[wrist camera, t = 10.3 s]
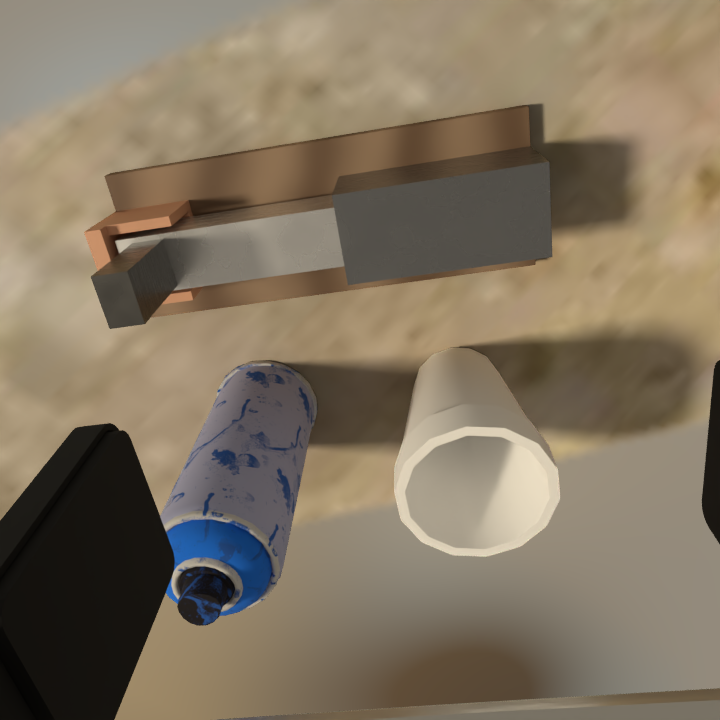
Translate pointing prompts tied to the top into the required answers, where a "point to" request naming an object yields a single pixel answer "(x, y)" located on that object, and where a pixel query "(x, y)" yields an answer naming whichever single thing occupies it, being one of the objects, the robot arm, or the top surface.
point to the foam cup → (471, 460)
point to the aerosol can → (239, 492)
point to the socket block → (132, 221)
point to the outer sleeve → (444, 215)
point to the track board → (311, 189)
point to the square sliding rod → (216, 254)
